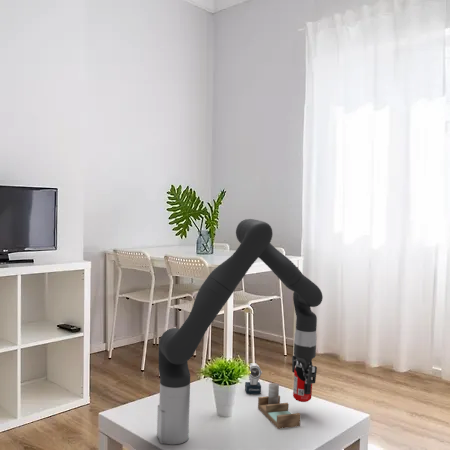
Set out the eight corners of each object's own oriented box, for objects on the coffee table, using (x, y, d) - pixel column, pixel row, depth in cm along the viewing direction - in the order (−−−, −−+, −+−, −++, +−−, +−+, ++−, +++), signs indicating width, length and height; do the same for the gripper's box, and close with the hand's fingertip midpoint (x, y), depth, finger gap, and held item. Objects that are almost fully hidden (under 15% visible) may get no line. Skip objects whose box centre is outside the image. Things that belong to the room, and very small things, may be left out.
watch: (247, 396, 193) (248, 367, 193) (244, 388, 201) (245, 360, 201) (262, 395, 194) (263, 367, 193) (258, 388, 202) (259, 360, 201)
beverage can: (309, 404, 173) (311, 369, 173) (291, 401, 175) (293, 366, 175) (312, 397, 179) (314, 364, 179) (295, 394, 181) (296, 361, 181)
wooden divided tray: (277, 428, 166) (278, 399, 165) (257, 408, 182) (258, 381, 182) (299, 426, 168) (301, 397, 168) (278, 406, 185) (279, 380, 184)
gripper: (286, 337, 182) (283, 383, 183) (305, 348, 169) (302, 399, 169) (305, 336, 185) (302, 382, 185) (325, 347, 171) (322, 397, 172)
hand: (302, 390), depth 177 cm, fingers closed on beverage can, 6 cm apart
